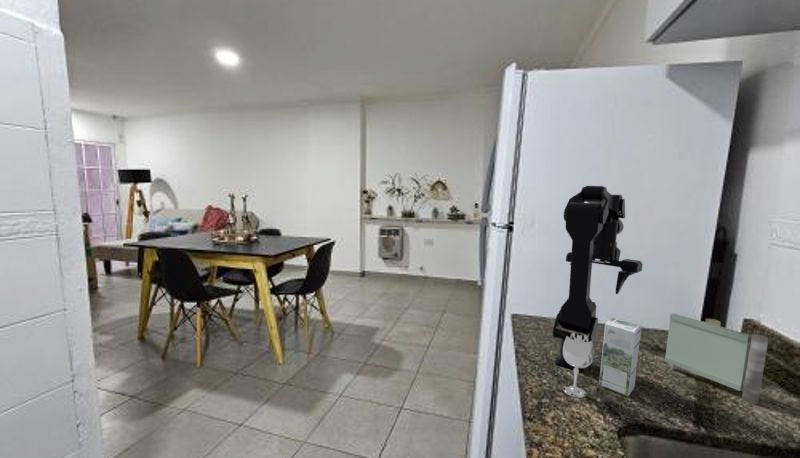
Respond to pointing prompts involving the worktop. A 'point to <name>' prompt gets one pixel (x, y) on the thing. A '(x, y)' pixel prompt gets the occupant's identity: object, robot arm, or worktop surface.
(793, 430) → the worktop surface
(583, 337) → the wineglass
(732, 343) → the pale green flat block
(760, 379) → the frame
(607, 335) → the syrup box
